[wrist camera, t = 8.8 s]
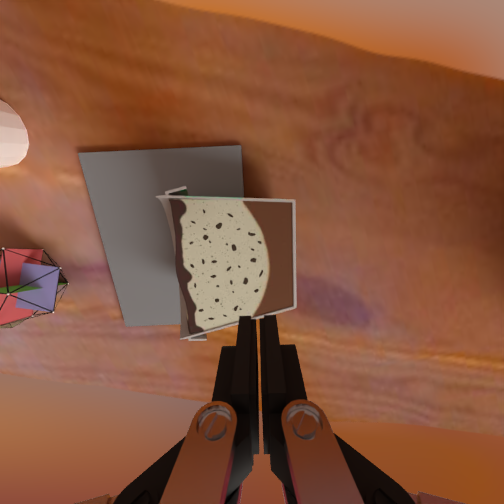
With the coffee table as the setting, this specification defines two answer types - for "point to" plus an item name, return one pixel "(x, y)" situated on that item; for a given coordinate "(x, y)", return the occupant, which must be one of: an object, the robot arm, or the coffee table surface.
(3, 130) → the shot glass
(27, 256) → the geometric puzzle
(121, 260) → the mat
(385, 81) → the coffee table surface
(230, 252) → the food container
